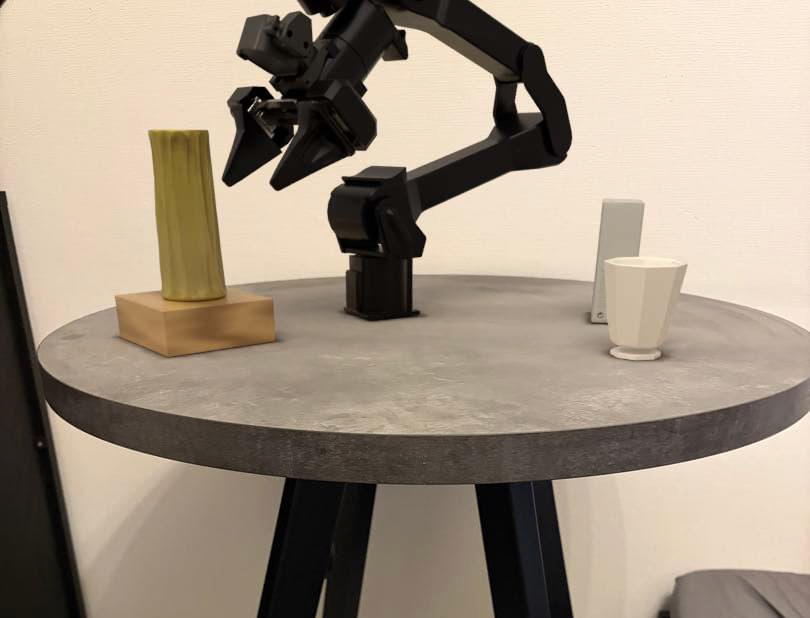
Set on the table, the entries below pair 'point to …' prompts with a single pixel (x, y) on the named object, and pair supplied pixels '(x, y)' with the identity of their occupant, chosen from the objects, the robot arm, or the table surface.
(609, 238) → the cosmetic box
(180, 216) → the vase
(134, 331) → the oak block
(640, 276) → the cup
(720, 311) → the table surface
